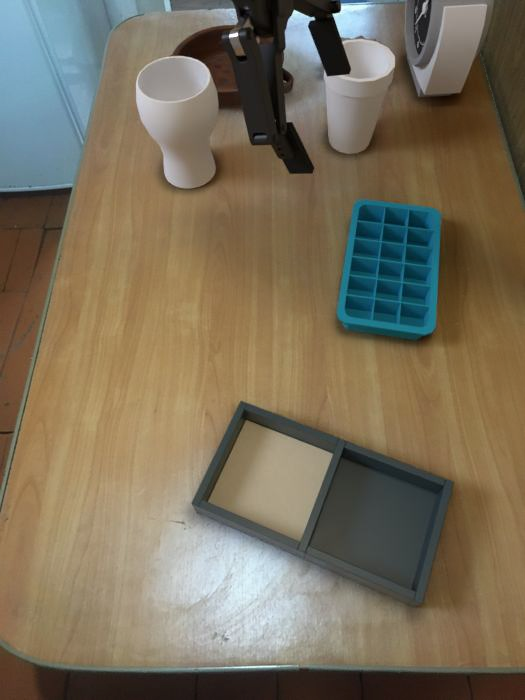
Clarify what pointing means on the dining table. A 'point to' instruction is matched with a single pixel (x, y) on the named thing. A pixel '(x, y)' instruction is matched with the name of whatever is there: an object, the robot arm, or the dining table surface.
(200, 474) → the dining table surface
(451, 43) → the alarm clock
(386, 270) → the ice cube tray
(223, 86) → the dish
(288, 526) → the divided tray
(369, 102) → the foam cup
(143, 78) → the cup
